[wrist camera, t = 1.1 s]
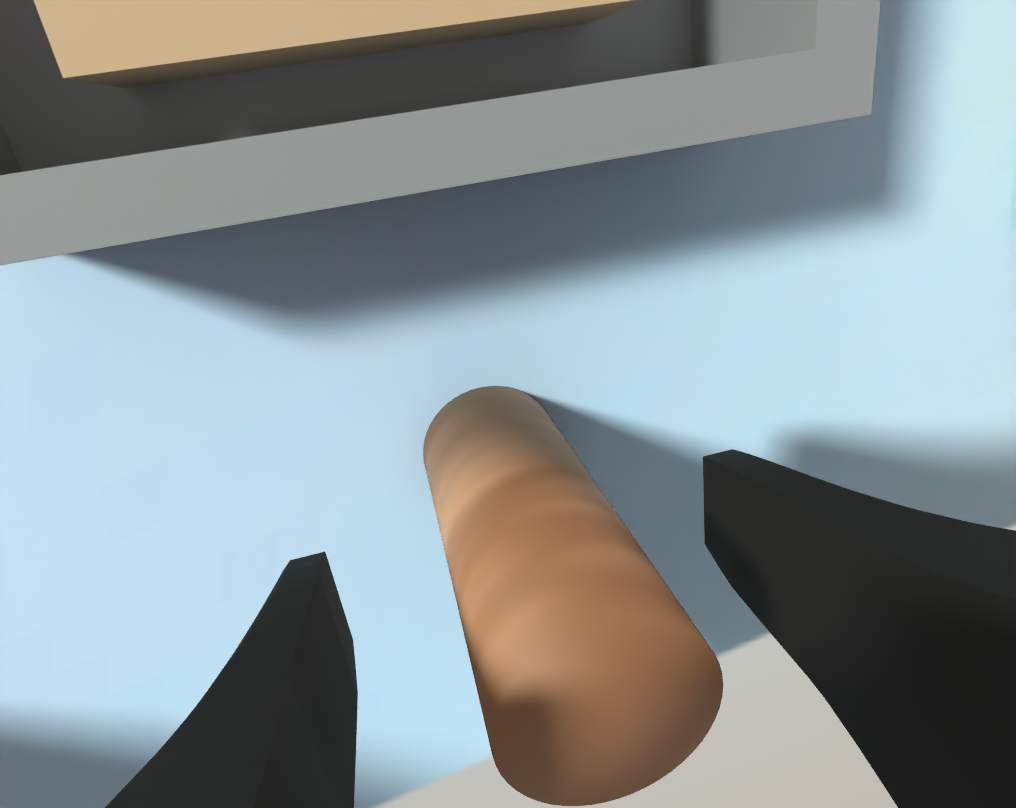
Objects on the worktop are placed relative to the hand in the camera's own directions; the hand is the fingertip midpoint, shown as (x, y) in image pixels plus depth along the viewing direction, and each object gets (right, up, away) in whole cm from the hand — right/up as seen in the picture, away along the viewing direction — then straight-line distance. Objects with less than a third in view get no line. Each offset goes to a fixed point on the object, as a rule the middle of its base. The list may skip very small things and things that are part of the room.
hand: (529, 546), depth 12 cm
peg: (-1, +2, +4) cm, 4 cm away
